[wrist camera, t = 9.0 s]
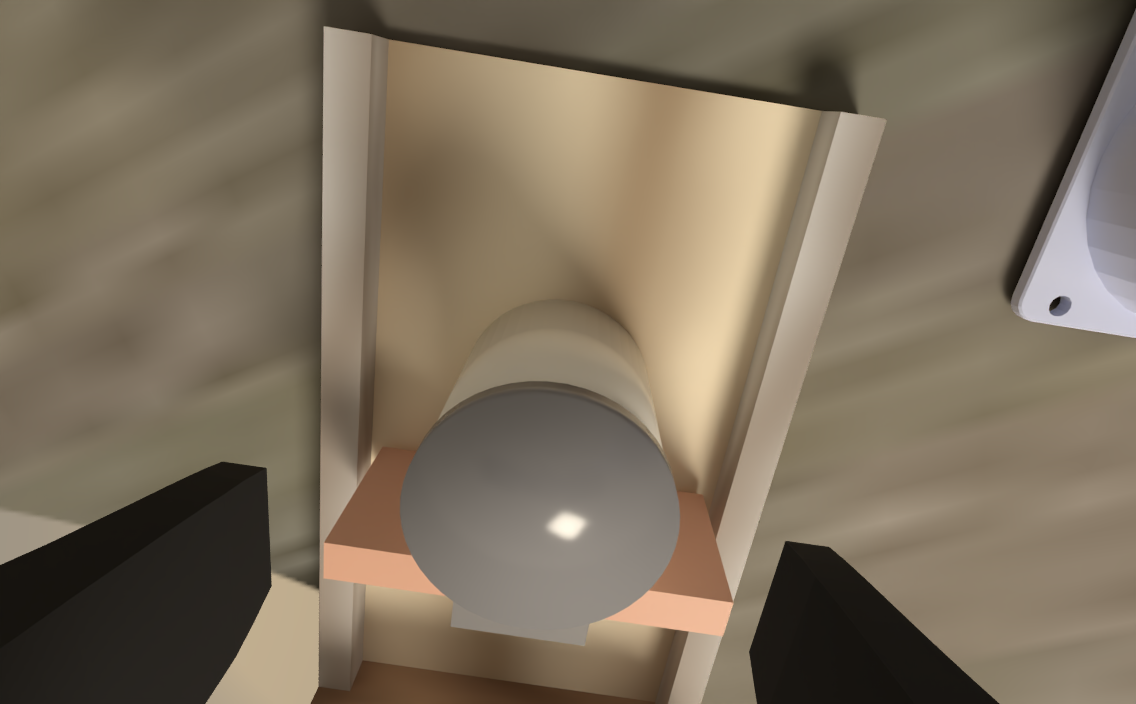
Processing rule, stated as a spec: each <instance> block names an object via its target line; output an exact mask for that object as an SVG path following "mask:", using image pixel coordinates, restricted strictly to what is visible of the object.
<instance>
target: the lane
mask: <svg viewBox="0 0 1136 704" xmlns="http://www.w3.org/2000/svg"><path fill="white" fill-rule="evenodd" d="M886 121H887V119H882V118H876V117H870V116H864V115H858V114H852V113H846V112H834V111H819V110H812V109H806V108H800V107H794V106H788V105H782V104H776V103H770V102H764V101H758V100H752V99H746V98H740V97H734V96H728V95H722V94H716V93H710V92H704V91H697V90H691V89H685V88H679V87H673V86H667V85H661V84H655V83H649V82H643V81H637V80H631V79H625V78H619V77H613V76H607V75H601V74H595V73H588V72H582V71H576V70H570V69H564V68H558V67H552V66H546V65H540V64H534V63H528V62H522V61H516V60H510V59H504V58H498V57H492V56H486V55H480V54H473V53H467V52H461V51H455V50H449V49H443V48H437V47H431V46H425V45H419V44H413V43H407V42H401V41H395V40H389V39H386V38H382V37H379V36H376V35H373V34H368V33H362V32H356V31H350V30H343V29H337V28H331V27H325V26H324V70H323V196H322V323H321V450H320V577H319V687H318V689H317V692H316V694H315V695H314V698H313V700H312V702H311V704H701V701H702V698H703V695H704V691H705V688H706V685H707V682H708V679H709V676H710V673H711V670H712V666H713V663H714V660H715V657H716V654H717V651H718V648H719V645H720V641H721V638H722V636H716V635H709V634H702V633H695V632H689V631H682V630H675V629H668V628H661V627H654V626H647V625H641V624H634V623H627V622H620V621H613V620H606V619H603V620H600V621H597V622H594V623H591V624H589V628H588V632H587V637H586V642H585V646H581V645H574V644H567V643H560V642H553V641H546V640H539V639H532V638H526V637H519V636H512V635H505V634H498V633H491V632H484V631H477V630H470V629H463V628H456V627H451V618H452V608H453V601H452V600H451V599H449V598H448V597H447V596H442V595H435V594H428V593H421V592H414V591H407V590H401V589H394V588H387V587H380V586H373V585H366V584H359V583H353V582H346V581H339V580H332V579H325V578H323V577H324V542H325V540H326V538H327V537H328V535H329V533H330V532H331V530H332V528H333V527H334V525H335V524H336V522H337V520H338V519H339V517H340V515H341V514H342V512H343V510H344V509H345V507H346V506H347V504H348V502H349V501H350V499H351V497H352V496H353V494H354V492H355V491H356V489H357V488H358V486H359V484H360V483H361V481H362V479H363V478H364V476H365V474H366V473H367V471H368V470H369V468H370V466H371V465H372V463H373V461H374V460H375V458H376V456H377V455H378V453H379V452H380V450H381V448H382V447H390V448H396V449H403V450H410V451H417V449H418V447H419V446H420V444H421V442H422V440H423V438H424V437H425V435H426V434H427V433H428V431H429V430H430V429H431V427H432V426H433V425H434V424H435V423H436V422H437V420H438V418H439V416H440V414H441V412H442V410H443V408H444V406H445V404H446V402H447V400H448V398H449V396H450V394H451V392H452V390H453V388H454V386H455V384H456V382H457V379H458V377H459V375H460V373H461V371H462V369H463V367H464V365H465V363H466V361H467V359H468V357H469V355H470V353H471V351H472V349H473V347H474V345H475V343H476V342H477V340H478V338H479V337H480V336H481V334H482V333H483V332H484V330H485V329H486V328H487V327H488V326H489V325H490V324H491V323H492V322H493V321H495V320H496V319H497V318H499V317H500V316H501V315H503V314H504V313H506V312H508V311H510V310H512V309H513V308H516V307H518V306H521V305H524V304H527V303H531V302H535V301H541V300H568V301H575V302H579V303H582V304H586V305H589V306H591V307H594V308H596V309H598V310H600V311H602V312H604V313H605V314H607V315H609V316H610V317H612V318H613V319H614V320H616V321H617V322H618V323H619V324H620V325H621V326H622V327H623V328H624V329H625V330H626V331H627V332H628V333H629V334H630V336H631V337H632V338H633V339H634V341H635V343H636V344H637V346H638V348H639V349H640V352H641V354H642V356H643V359H644V362H645V366H646V370H647V374H648V379H649V384H650V389H651V394H652V399H653V404H654V409H655V414H656V419H657V424H658V429H659V434H660V439H661V444H662V449H663V451H664V452H665V454H666V457H667V459H668V462H669V464H670V466H671V469H672V473H673V478H674V482H675V486H676V491H682V492H688V493H695V494H702V495H703V496H704V500H705V504H706V507H707V511H708V514H709V518H710V521H711V525H712V528H713V532H714V535H715V539H716V543H717V546H718V550H719V553H720V557H721V560H722V564H723V567H724V571H725V574H726V578H727V582H728V585H729V589H730V592H731V596H732V599H733V601H734V598H735V594H736V591H737V588H738V585H739V582H740V579H741V576H742V572H743V569H744V566H745V563H746V560H747V557H748V554H749V551H750V547H751V544H752V541H753V538H754V535H755V532H756V529H757V525H758V522H759V519H760V516H761V513H762V510H763V507H764V504H765V500H766V497H767V494H768V491H769V488H770V485H771V482H772V478H773V475H774V472H775V469H776V466H777V463H778V460H779V457H780V453H781V450H782V447H783V444H784V441H785V438H786V435H787V431H788V428H789V425H790V422H791V419H792V416H793V413H794V410H795V406H796V403H797V400H798V397H799V394H800V391H801V388H802V384H803V381H804V378H805V375H806V372H807V369H808V366H809V363H810V359H811V356H812V353H813V350H814V347H815V344H816V341H817V337H818V334H819V331H820V328H821V325H822V322H823V319H824V316H825V312H826V309H827V306H828V303H829V300H830V297H831V294H832V291H833V287H834V284H835V281H836V278H837V275H838V272H839V269H840V265H841V262H842V259H843V256H844V253H845V250H846V247H847V244H848V240H849V237H850V234H851V231H852V228H853V225H854V222H855V218H856V215H857V212H858V209H859V206H860V203H861V200H862V197H863V193H864V190H865V187H866V184H867V181H868V178H869V175H870V171H871V168H872V165H873V162H874V159H875V156H876V153H877V150H878V146H879V143H880V140H881V137H882V134H883V131H884V128H885V124H886Z"/></svg>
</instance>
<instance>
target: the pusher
mask: <svg viewBox="0 0 1136 704" xmlns="http://www.w3.org/2000/svg"><path fill="white" fill-rule="evenodd" d="M415 453H416V451H410V450H403V449H396V448H390V447H382V448H381V450H380V452H379V453H378V455H377V456H376V458H375V460H374V461H373V463H372V465H371V466H370V468H369V470H368V471H367V473H366V474H365V476H364V478H363V479H362V481H361V483H360V484H359V486H358V488H357V489H356V491H355V492H354V494H353V496H352V497H351V499H350V501H349V502H348V504H347V506H346V507H345V509H344V510H343V512H342V514H341V515H340V517H339V519H338V520H337V522H336V524H335V525H334V527H333V528H332V530H331V532H330V533H329V535H328V537H327V538H326V540H325V542H324V577H323V578H325V579H332V580H339V581H346V582H353V583H359V584H366V585H373V586H380V587H387V588H394V589H401V590H407V591H414V592H421V593H428V594H435V595H442V596H445V595H444V594H443V593H441V592H440V591H439V590H438V589H437V588H436V587H435V586H434V585H433V584H432V583H431V582H430V581H429V580H428V578H427V577H426V576H425V575H424V573H423V572H422V571H421V570H420V568H419V567H418V565H417V563H416V562H415V560H414V558H413V557H412V555H411V553H410V550H409V548H408V546H407V544H406V541H405V537H404V534H403V530H402V526H401V518H400V496H401V491H402V485H403V481H404V478H405V475H406V473H407V470H408V467H409V465H410V463H411V461H412V459H413V457H414V455H415ZM677 495H678V500H679V509H680V527H679V535H678V539H677V543H676V548H675V550H674V552H673V555H672V557H671V560H670V562H669V564H668V565H667V567H666V569H665V571H664V572H663V574H662V575H661V577H660V578H659V579H658V580H657V582H656V583H655V584H654V585H653V587H652V588H651V589H649V590H648V591H647V592H646V593H645V594H644V595H643V596H642V597H641V598H640V599H638V600H637V601H636V602H634V603H633V604H632V605H630V606H629V607H627V608H625V609H624V610H622V611H620V612H618V613H616V614H615V615H612V616H610V617H608V618H605V619H606V620H613V621H620V622H627V623H634V624H641V625H647V626H654V627H661V628H668V629H675V630H682V631H689V632H695V633H702V634H709V635H716V636H723V634H724V631H725V628H726V625H727V622H728V619H729V615H730V612H731V609H732V606H733V599H732V596H731V592H730V589H729V585H728V582H727V578H726V574H725V571H724V567H723V564H722V560H721V557H720V553H719V550H718V546H717V543H716V539H715V535H714V532H713V528H712V525H711V521H710V518H709V514H708V511H707V507H706V504H705V500H704V496H703V495H702V494H695V493H688V492H682V491H677ZM451 627H456V628H463V629H470V630H477V631H484V632H491V633H498V634H505V635H512V636H519V637H526V638H532V639H539V640H546V641H553V642H560V643H567V644H574V645H581V646H585V642H586V637H587V632H588V628H589V624H587V625H584V626H579V627H573V628H568V629H555V630H534V629H526V628H518V627H513V626H508V625H504V624H500V623H497V622H494V621H491V620H488V619H485V618H483V617H481V616H478V615H476V614H474V613H472V612H470V611H468V610H466V609H464V608H463V607H461V606H459V605H458V604H456V603H455V602H453V608H452V618H451Z"/></svg>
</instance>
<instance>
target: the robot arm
mask: <svg viewBox="0 0 1136 704" xmlns="http://www.w3.org/2000/svg"><path fill="white" fill-rule="evenodd" d="M1059 296H1060V297H1061V299H1060V303H1059V305H1058V306H1057V307H1056V308H1055V309H1053V310H1051V311H1049V306H1050V303H1051V302H1052V301H1053V300H1054V299H1055V298H1057V297H1059ZM1011 307H1012V310H1013V311H1014V312H1015V314H1016V315H1018V316H1020V317H1022V318H1024V319H1026V320H1029V321H1032V322H1039V323H1045V324H1051V325H1058V326H1064V327H1070V328H1076V329H1083V330H1089V331H1095V332H1102V333H1108V334H1114V335H1121V336H1127V337H1133V338H1136V10H1135V12H1134V14H1133V17H1132V19H1131V21H1130V24H1129V26H1128V28H1127V31H1126V33H1125V35H1124V38H1123V40H1122V42H1121V45H1120V47H1119V49H1118V52H1117V54H1116V56H1115V58H1114V61H1113V63H1112V65H1111V68H1110V70H1109V72H1108V75H1107V77H1106V79H1105V82H1104V84H1103V86H1102V89H1101V91H1100V93H1099V96H1098V98H1097V100H1096V103H1095V105H1094V107H1093V110H1092V112H1091V114H1090V117H1089V119H1088V121H1087V124H1086V126H1085V128H1084V131H1083V133H1082V135H1081V138H1080V140H1079V142H1078V144H1077V147H1076V149H1075V151H1074V154H1073V156H1072V158H1071V161H1070V163H1069V165H1068V168H1067V170H1066V172H1065V175H1064V177H1063V179H1062V182H1061V184H1060V186H1059V189H1058V191H1057V193H1056V196H1055V198H1054V200H1053V203H1052V205H1051V207H1050V210H1049V212H1048V214H1047V217H1046V219H1045V221H1044V223H1043V226H1042V228H1041V230H1040V233H1039V235H1038V237H1037V240H1036V242H1035V244H1034V247H1033V249H1032V251H1031V254H1030V256H1029V258H1028V261H1027V263H1026V265H1025V268H1024V270H1023V272H1022V275H1021V277H1020V279H1019V282H1018V284H1017V286H1016V289H1015V291H1014V293H1013V296H1012V300H1011ZM271 586H272V585H271V562H270V538H269V515H268V492H267V468H263V467H256V466H249V465H242V464H235V463H228V462H220V463H218V464H215V465H213V466H210V467H208V468H206V469H203V470H201V471H199V472H197V473H194V474H192V475H190V476H188V477H186V478H184V479H182V480H179V481H177V482H175V483H173V484H171V485H169V486H167V487H165V488H163V489H161V490H159V491H157V492H155V493H152V494H150V495H148V496H146V497H144V498H142V499H140V500H138V501H136V502H134V503H132V504H130V505H128V506H126V507H124V508H122V509H120V510H117V511H115V512H113V513H111V514H109V515H107V516H105V517H103V518H101V519H99V520H97V521H95V522H93V523H90V524H88V525H86V526H84V527H82V528H80V529H78V530H76V531H74V532H72V533H70V534H68V535H66V536H64V537H61V538H59V539H57V540H55V541H53V542H51V543H49V544H47V545H44V546H42V547H40V548H38V549H36V550H33V551H31V552H29V553H26V554H24V555H22V556H20V557H17V558H15V559H13V560H11V561H8V562H6V563H4V564H2V565H0V704H205V703H206V702H207V700H208V699H209V697H210V696H211V694H212V693H213V691H214V690H215V688H216V687H217V685H218V684H219V682H220V680H221V679H222V678H223V676H224V674H225V673H226V671H227V670H228V668H229V667H230V665H231V664H232V662H233V660H234V659H235V657H236V656H237V653H238V652H239V650H240V648H241V646H242V644H243V642H244V640H245V638H246V636H247V635H248V633H249V631H250V629H251V627H252V625H253V623H254V621H255V619H256V617H257V615H258V613H259V610H260V609H261V606H262V604H263V602H264V600H265V598H266V596H267V594H268V592H269V590H270V588H271ZM749 653H750V660H751V667H752V674H753V680H754V687H755V694H756V699H757V704H999V703H998V702H997V701H996V700H995V699H994V698H992V697H991V696H990V695H989V694H988V693H987V692H986V691H985V690H984V689H982V688H981V687H980V686H979V685H978V684H977V683H976V682H975V681H973V680H972V679H971V678H970V677H969V676H968V675H967V674H966V673H965V672H964V671H963V670H961V669H960V668H959V667H958V666H957V665H956V664H955V663H954V662H953V661H952V660H951V659H950V658H948V657H947V656H946V655H945V654H944V653H943V652H942V651H941V650H940V649H939V648H938V647H937V646H936V645H934V644H933V643H932V642H931V641H930V640H929V639H928V638H927V637H926V636H925V635H924V634H923V633H922V632H921V631H920V630H918V629H917V628H916V627H915V626H914V625H913V624H912V623H911V622H910V621H909V620H908V619H907V618H906V617H905V616H904V615H903V614H902V613H901V612H899V611H898V610H897V609H896V608H895V607H894V606H893V605H892V604H891V603H890V602H889V601H888V600H887V599H886V598H885V597H884V596H883V595H882V594H881V593H879V592H878V591H877V590H876V589H875V588H874V587H873V586H872V585H871V584H870V583H869V582H868V581H867V580H866V579H865V578H864V577H862V576H861V575H860V574H859V573H858V572H857V571H856V570H855V569H854V568H853V567H852V566H851V565H849V564H848V563H847V562H846V561H845V560H844V559H843V558H842V557H840V556H839V555H838V554H837V553H836V552H834V551H833V550H832V549H831V548H830V547H825V546H818V545H811V544H804V543H797V542H790V541H785V545H784V548H783V551H782V554H781V557H780V560H779V563H778V566H777V569H776V572H775V575H774V578H773V581H772V584H771V587H770V590H769V593H768V596H767V599H766V602H765V605H764V608H763V611H762V614H761V617H760V621H759V624H758V627H757V630H756V633H755V636H754V639H753V642H752V645H751V648H750V651H749Z"/></svg>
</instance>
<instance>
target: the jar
mask: <svg viewBox="0 0 1136 704" xmlns="http://www.w3.org/2000/svg"><path fill="white" fill-rule="evenodd" d="M400 518H401V526H402V530H403V534H404V537H405V541H406V544H407V546H408V548H409V550H410V553H411V555H412V557H413V558H414V560H415V562H416V563H417V565H418V567H419V568H420V570H421V571H422V572H423V573H424V575H425V576H426V577H427V578H428V580H429V581H430V582H431V583H432V584H433V585H434V586H435V587H436V588H437V589H438V590H439V591H440V592H441V593H443V594H444V595H445V596H447V597H448V598H449V599H451V600H452V601H453V602H455V603H456V604H458V605H459V606H461V607H463V608H464V609H466V610H468V611H470V612H472V613H474V614H476V615H478V616H481V617H483V618H485V619H488V620H491V621H494V622H497V623H500V624H504V625H508V626H513V627H518V628H526V629H534V630H555V629H568V628H573V627H579V626H584V625H587V624H591V623H594V622H597V621H600V620H603V619H605V618H608V617H610V616H612V615H615V614H616V613H618V612H620V611H622V610H624V609H625V608H627V607H629V606H630V605H632V604H633V603H634V602H636V601H637V600H638V599H640V598H641V597H642V596H643V595H644V594H645V593H646V592H647V591H648V590H649V589H651V588H652V587H653V585H654V584H655V583H656V582H657V580H658V579H659V578H660V577H661V575H662V574H663V572H664V571H665V569H666V567H667V565H668V564H669V562H670V560H671V557H672V555H673V552H674V550H675V548H676V543H677V539H678V535H679V527H680V509H679V500H678V495H677V491H676V486H675V482H674V478H673V473H672V469H671V466H670V464H669V462H668V459H667V457H666V454H665V452H664V451H663V449H662V444H661V439H660V434H659V429H658V424H657V419H656V414H655V409H654V404H653V399H652V394H651V389H650V384H649V379H648V374H647V370H646V366H645V362H644V359H643V356H642V354H641V352H640V349H639V348H638V346H637V344H636V343H635V341H634V339H633V338H632V337H631V336H630V334H629V333H628V332H627V331H626V330H625V329H624V328H623V327H622V326H621V325H620V324H619V323H618V322H617V321H616V320H614V319H613V318H612V317H610V316H609V315H607V314H605V313H604V312H602V311H600V310H598V309H596V308H594V307H591V306H589V305H586V304H582V303H579V302H575V301H568V300H541V301H535V302H531V303H527V304H524V305H521V306H518V307H516V308H513V309H512V310H510V311H508V312H506V313H504V314H503V315H501V316H500V317H499V318H497V319H496V320H495V321H493V322H492V323H491V324H490V325H489V326H488V327H487V328H486V329H485V330H484V332H483V333H482V334H481V336H480V337H479V338H478V340H477V342H476V343H475V345H474V347H473V349H472V351H471V353H470V355H469V357H468V359H467V361H466V363H465V365H464V367H463V369H462V371H461V373H460V375H459V377H458V379H457V382H456V384H455V386H454V388H453V390H452V392H451V394H450V396H449V398H448V400H447V402H446V404H445V406H444V408H443V410H442V412H441V414H440V416H439V418H438V420H437V422H436V423H435V424H434V425H433V426H432V427H431V429H430V430H429V431H428V433H427V434H426V435H425V437H424V438H423V440H422V442H421V444H420V446H419V447H418V449H417V451H416V453H415V455H414V457H413V459H412V461H411V463H410V465H409V467H408V470H407V473H406V475H405V478H404V481H403V485H402V491H401V496H400Z"/></svg>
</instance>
